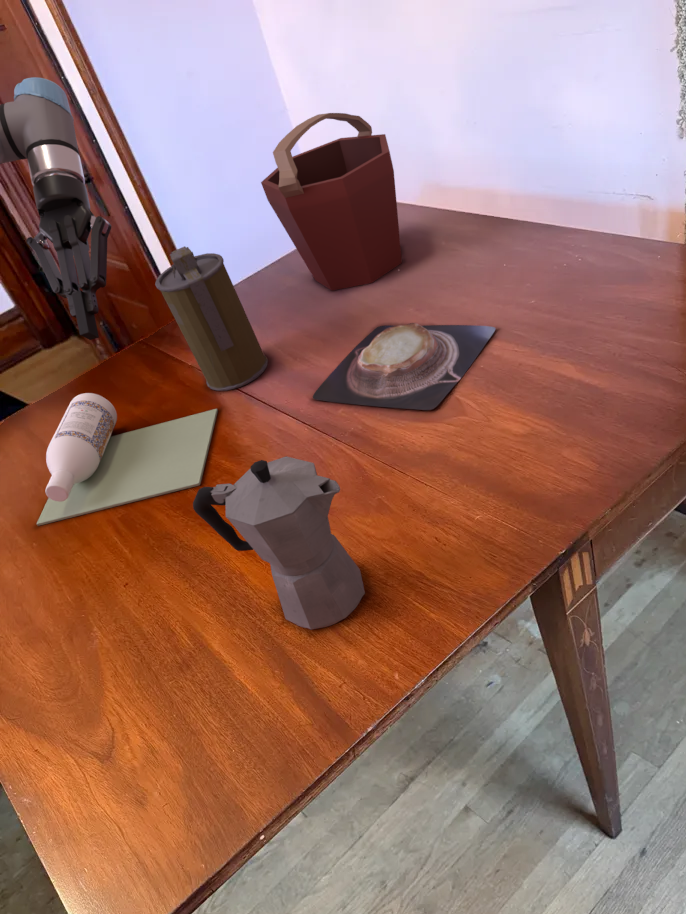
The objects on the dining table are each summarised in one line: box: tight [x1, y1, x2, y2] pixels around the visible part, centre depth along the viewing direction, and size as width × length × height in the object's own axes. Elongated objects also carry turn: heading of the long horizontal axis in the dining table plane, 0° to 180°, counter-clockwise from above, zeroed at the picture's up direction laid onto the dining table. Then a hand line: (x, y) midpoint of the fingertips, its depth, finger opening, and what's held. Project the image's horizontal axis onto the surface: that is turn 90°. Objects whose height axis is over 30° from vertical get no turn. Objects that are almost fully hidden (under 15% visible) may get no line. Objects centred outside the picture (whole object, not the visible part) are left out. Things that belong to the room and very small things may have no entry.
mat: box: [36, 408, 219, 527], centre depth 107 cm, size 24×18×1 cm
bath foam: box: [45, 392, 118, 502], centre depth 107 cm, size 7×7×20 cm
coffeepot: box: [192, 455, 366, 630], centre depth 72 cm, size 15×9×18 cm, turn 78°
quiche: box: [312, 322, 496, 411], centre depth 106 cm, size 21×20×4 cm
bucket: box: [260, 112, 403, 291], centre depth 129 cm, size 24×22×25 cm
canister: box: [154, 246, 269, 392], centre depth 113 cm, size 11×10×20 cm
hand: (89, 336), depth 112 cm, fingers closed
